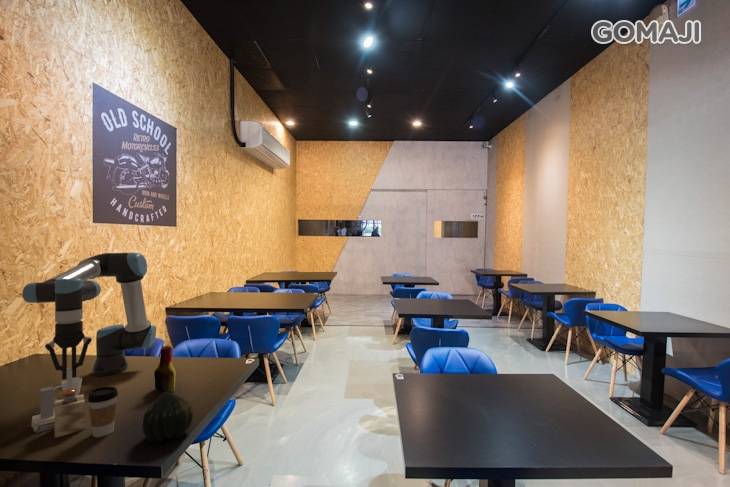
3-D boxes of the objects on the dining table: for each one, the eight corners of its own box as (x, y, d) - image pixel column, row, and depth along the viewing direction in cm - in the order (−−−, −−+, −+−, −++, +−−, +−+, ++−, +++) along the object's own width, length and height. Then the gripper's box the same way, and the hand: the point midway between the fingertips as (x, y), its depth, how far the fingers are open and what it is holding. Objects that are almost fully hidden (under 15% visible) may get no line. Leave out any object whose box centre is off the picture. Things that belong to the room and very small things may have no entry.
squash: (176, 434, 109) (188, 386, 119) (127, 438, 108) (143, 389, 118) (192, 444, 119) (201, 399, 129) (147, 448, 118) (160, 403, 128)
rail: (57, 408, 138) (57, 405, 138) (58, 427, 124) (58, 423, 124) (37, 414, 134) (37, 410, 134) (35, 433, 120) (35, 429, 120)
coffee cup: (98, 426, 124) (98, 385, 124) (123, 425, 125) (123, 384, 125) (81, 440, 116) (81, 395, 116) (108, 438, 116) (108, 394, 116)
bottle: (179, 390, 155) (179, 346, 155) (165, 395, 149) (165, 350, 149) (165, 385, 161) (165, 342, 161) (151, 390, 156) (150, 346, 156)
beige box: (83, 420, 128) (83, 394, 128) (84, 429, 122) (84, 401, 123) (54, 428, 123) (54, 400, 123) (54, 437, 117) (54, 408, 117)
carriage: (61, 416, 131) (61, 382, 131) (61, 423, 126) (61, 388, 126) (32, 424, 126) (32, 388, 126) (31, 431, 120) (31, 395, 120)
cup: (84, 398, 147) (84, 379, 147) (53, 407, 140) (53, 387, 140) (80, 394, 152) (80, 376, 152) (50, 402, 144) (49, 383, 144)
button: (76, 405, 126) (76, 387, 126) (77, 409, 123) (77, 390, 123) (62, 409, 123) (62, 390, 123) (62, 413, 120) (62, 394, 120)
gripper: (91, 317, 130) (91, 379, 130) (44, 322, 121) (44, 389, 121) (93, 320, 124) (93, 385, 124) (44, 326, 116) (44, 396, 116)
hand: (69, 387), depth 123 cm, fingers closed
